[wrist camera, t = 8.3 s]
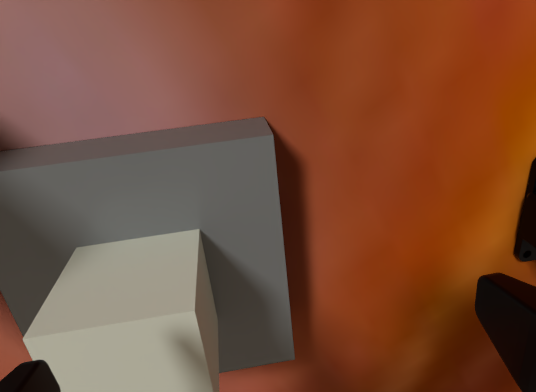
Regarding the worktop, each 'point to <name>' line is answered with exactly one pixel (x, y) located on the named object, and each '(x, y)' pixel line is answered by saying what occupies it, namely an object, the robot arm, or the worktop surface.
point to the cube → (131, 318)
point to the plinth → (156, 221)
